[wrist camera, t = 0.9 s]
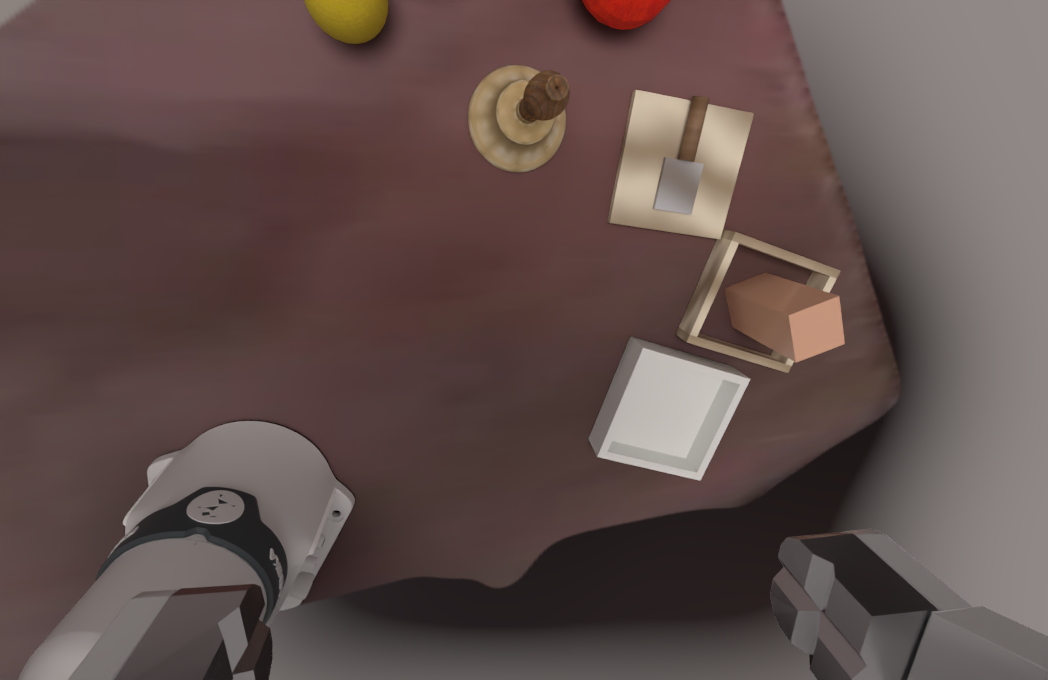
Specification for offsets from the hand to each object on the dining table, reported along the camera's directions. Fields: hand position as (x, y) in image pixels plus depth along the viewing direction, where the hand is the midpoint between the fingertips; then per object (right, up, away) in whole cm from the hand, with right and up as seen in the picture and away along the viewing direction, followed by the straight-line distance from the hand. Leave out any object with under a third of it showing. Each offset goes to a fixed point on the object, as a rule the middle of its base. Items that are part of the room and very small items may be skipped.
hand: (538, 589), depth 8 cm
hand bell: (-1, +23, +34) cm, 41 cm away
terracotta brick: (+23, +8, +42) cm, 48 cm away
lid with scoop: (+14, +19, +37) cm, 44 cm away
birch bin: (+23, +8, +42) cm, 48 cm away
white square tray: (+14, -3, +44) cm, 47 cm away
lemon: (-13, +29, +30) cm, 44 cm away
